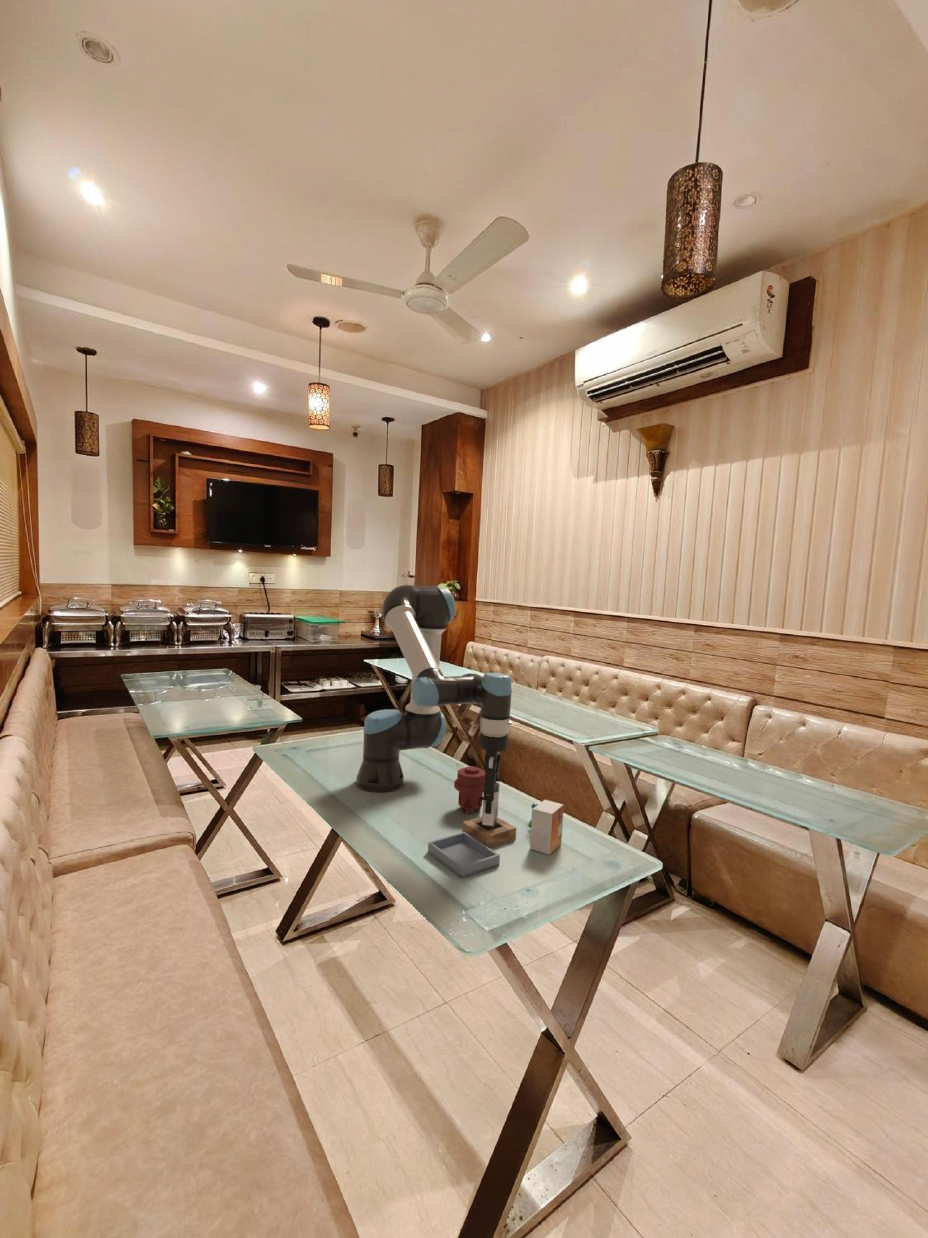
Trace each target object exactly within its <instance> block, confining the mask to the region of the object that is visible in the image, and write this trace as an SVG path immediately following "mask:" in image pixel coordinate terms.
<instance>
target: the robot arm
mask: <svg viewBox="0 0 928 1238" xmlns="http://www.w3.org/2000/svg"><path fill="white" fill-rule="evenodd" d="M381 608H382V609H381V613H382V619H383V622H384V624H385V625H386V627H387V628H388V629H389V630H391V631H392V633H393V635H394V637H395V640H396V642H397V645H398V646H399V648H400V651H401V653H402V656H403V657H404V659H405V662H406V663H407V666H408V668H409V670H410V673H411V675H412V676H411V677H412V678H411V687H410V688H411V691H410V702H409V703H408V704H406V706H405V708H404V711H405V712H404V713H402V712H401V710H399V709H393V708H392V709H380V710H379V709H378V710H376V711H372V712H371V713H369V714H368V715H367V716H366V717H365V719H364V726H363V746H362V747H363V748H362V749H363V750H362V753H363V754H362V762H361V764H360V767H359V770H358V772H357V775H356V786H357V787H358V788H359V789H361V790H364V791H368V792H376V793H383V792H385V793H386V792H392V791H396V790H398V789H400V788H402V787H403V786H404V782H405V780H404V779H405V777H404V772H403V768H402V766H401V763H400V762H401V761H400V752H401V751H407V750H408V751H409V750H415V749H416V750H417V749H429V748H432V747H436V746H438V745H439V744H441V742H442V741H443V739H444V738H445V735H446V730H447V726H446V725H447V724H446V718H445V715H444V714H443V712H441V708H440V707H439V706H450V705H464V704H476V705H478V706H481V707H480V721H479V723H480V724H479V731H480V733H479V748H481V749H482V750H484V751H487V752H486V753H485V757H484V762H485V765H484V771H485V784H484V792H483V794H484V796H483V797H481V800H482V812H483V820H482V825H490V826H493V819H494V801H495V799H494V792H495V782H497V783H502V778H501V777H499V776H500V767H501V761H502V754H501V753H500V752H503V751H506V750H508V748H509V738H510V736H509V731H510V726H512V725H513V723H512V721H510V715H511V705H512V704H511V702H512V691H513V689H512V677H511V676H510V675H509V674H506V673H501V672H488V673H484V674H483V676H482V675H480V674H478V673H470V672H468V673H464V674H462V675H457V676H456V675H455V676H454V675H453V676H445V675H444V674H443V673H442V671H441V668H440V659H441V657H440V656H441V646H442V645H441V644H442V636H443V635H442V634H443V633H444V632H445V631H446V630H448V627H447V626H448V623H451V622H452V621H453V620H454V618H455V615H456V603H455V598H454V596H453V594H452V592H451V591H450V589H448V588H446V587H444V586H436V585H410V584H404V585H403V584H402V585H400V586H396V587H395V588H392V590H390V592H389V593H387V595H386V596H385V599H384V600H383V604H382V607H381ZM488 795H491V796H488ZM483 800H484V801H483Z"/></svg>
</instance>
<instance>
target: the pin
mask: <svg viewBox="0 0 928 1238" xmlns="http://www.w3.org/2000/svg"><path fill="white" fill-rule="evenodd" d="M499 783H500V782H498V783H497V781H496V782H495V792H494V799H495V801H494V819H493V826H490V825H482V828H484V829H486V830H487V831H490V830H493V829H497V817H498V813H499V796H500V795H499V794H500V784H499ZM484 784H485V783H484ZM483 796H484V793H483ZM488 796H491V795H488ZM483 801H484V800H482V802H483ZM481 815H482V816H481V817H482V820H483V811H482V814H481ZM498 818H499V817H498Z"/></svg>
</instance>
